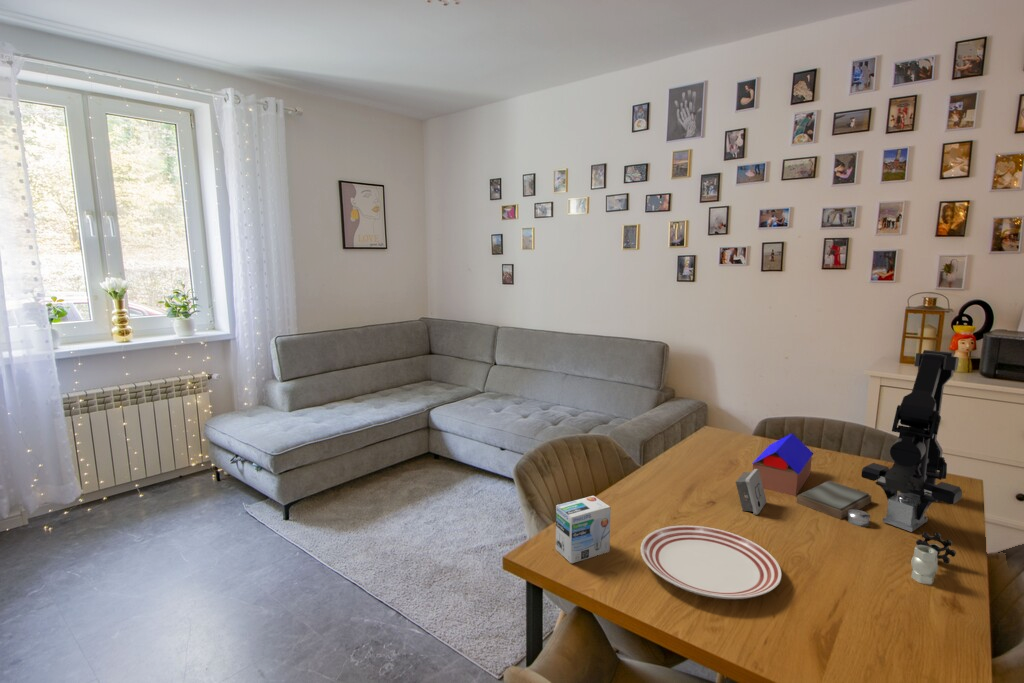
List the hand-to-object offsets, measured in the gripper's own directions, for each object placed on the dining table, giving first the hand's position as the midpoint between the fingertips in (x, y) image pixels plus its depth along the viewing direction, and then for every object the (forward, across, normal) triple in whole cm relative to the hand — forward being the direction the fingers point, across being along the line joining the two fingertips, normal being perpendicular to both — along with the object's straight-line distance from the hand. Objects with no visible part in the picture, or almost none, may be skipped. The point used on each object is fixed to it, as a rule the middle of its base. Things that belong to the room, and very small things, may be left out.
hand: (905, 515), depth 127 cm
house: (+2, -31, 0) cm, 31 cm away
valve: (+2, +11, -20) cm, 23 cm away
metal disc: (+2, -6, -9) cm, 11 cm away
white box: (+2, -35, -73) cm, 81 cm away
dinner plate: (+2, -15, -56) cm, 58 cm away
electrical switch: (+2, -26, -23) cm, 35 cm away
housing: (+2, 0, 0) cm, 2 cm away
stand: (+2, -15, -3) cm, 15 cm away
